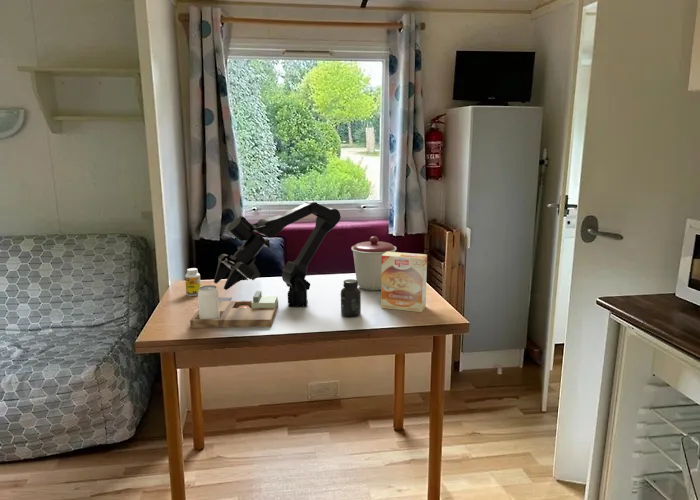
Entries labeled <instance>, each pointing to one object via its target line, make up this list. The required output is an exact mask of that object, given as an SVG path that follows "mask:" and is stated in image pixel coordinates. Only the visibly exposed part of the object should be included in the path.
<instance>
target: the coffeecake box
mask: <svg viewBox="0 0 700 500" xmlns="http://www.w3.org/2000/svg"><path fill="white" fill-rule="evenodd" d="M427 267H428V254H424V253H412V252H411V253H410V252H399V251H395V252H386V253H384V254H383V255H382V265H381V290H380V291H381V292H380V308H381V309H388V310H389V309H390V310H397V311H399V310H400V311H406V312H408V311H409V312H415V313H422V312H423V310H424V309H426V306H427V273H428V272H427V270H428V268H427Z"/></svg>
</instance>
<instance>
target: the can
mask: <svg viewBox="0 0 700 500" xmlns="http://www.w3.org/2000/svg"><path fill="white" fill-rule="evenodd" d="M218 298H219V291H218V289H217V286H216V285H212V284H209V285H207V284H206V285H202V286H201V287H199V291H198V295H197V301H198V302H197V303H198V306H199V307H198V310H199V318H200V319H219V318H220V315H219V299H218Z"/></svg>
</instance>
